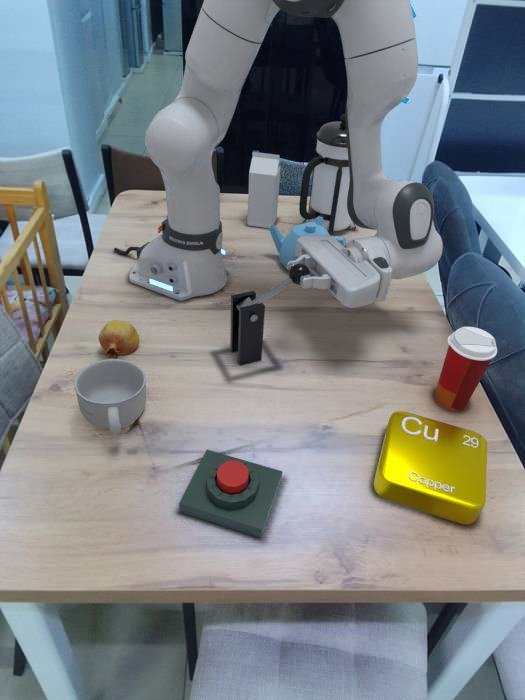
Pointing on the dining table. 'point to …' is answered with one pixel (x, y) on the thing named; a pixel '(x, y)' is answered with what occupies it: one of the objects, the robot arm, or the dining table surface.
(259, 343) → the bracket
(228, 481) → the button
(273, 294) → the lever
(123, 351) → the fruit
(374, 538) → the dining table surface
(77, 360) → the dining table surface
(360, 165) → the robot arm
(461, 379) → the paper cup
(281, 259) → the teapot
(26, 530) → the dining table surface
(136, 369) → the teacup
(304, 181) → the coffee press
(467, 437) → the element tile
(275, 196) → the milk carton
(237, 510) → the box
